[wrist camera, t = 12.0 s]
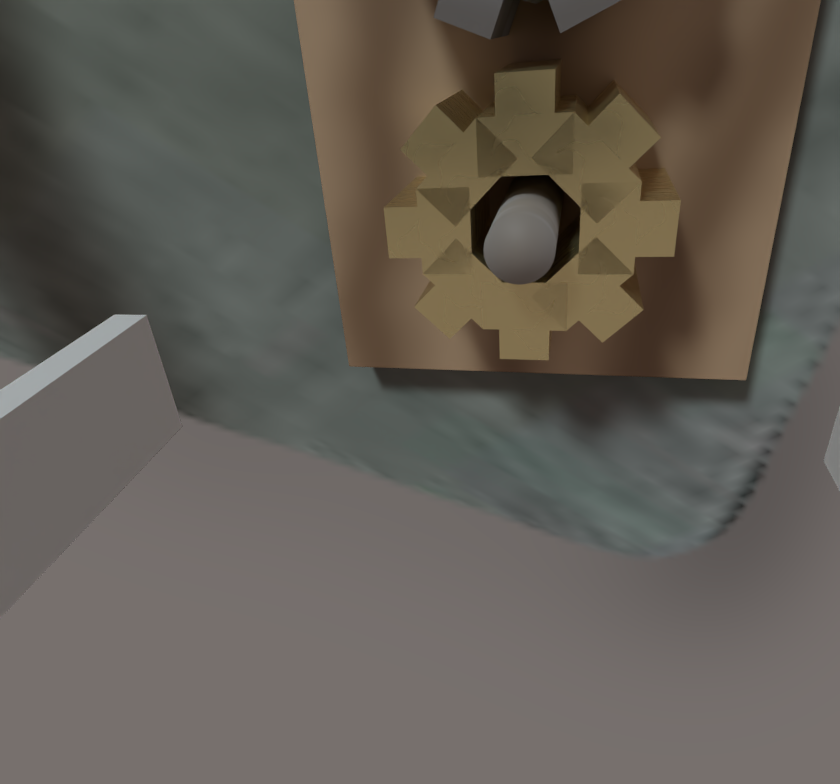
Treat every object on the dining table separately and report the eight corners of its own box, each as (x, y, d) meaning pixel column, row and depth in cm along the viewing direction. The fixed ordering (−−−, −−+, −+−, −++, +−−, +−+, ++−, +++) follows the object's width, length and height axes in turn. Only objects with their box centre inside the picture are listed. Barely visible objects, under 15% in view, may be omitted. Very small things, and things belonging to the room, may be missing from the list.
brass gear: (408, 70, 24) (370, 82, 20) (677, 50, 22) (698, 58, 18) (426, 306, 29) (399, 355, 25) (649, 309, 27) (661, 364, 22)
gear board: (361, 348, 33) (294, 446, 26) (259, -383, 20) (65, -619, 13) (736, 359, 29) (789, 480, 21) (905, -554, 16) (1184, -1053, 9)
